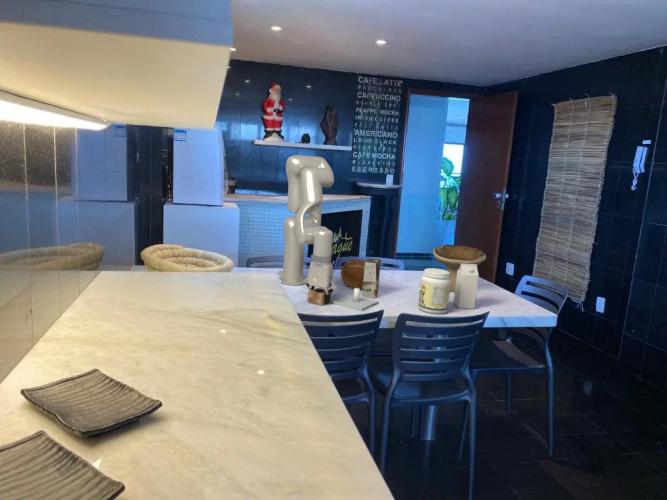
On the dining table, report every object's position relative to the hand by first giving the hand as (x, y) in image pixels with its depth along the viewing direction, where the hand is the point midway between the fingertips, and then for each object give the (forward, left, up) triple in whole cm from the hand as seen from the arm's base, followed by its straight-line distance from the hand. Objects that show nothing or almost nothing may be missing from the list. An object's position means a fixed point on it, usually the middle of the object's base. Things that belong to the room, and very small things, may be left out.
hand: (319, 300), depth 210 cm
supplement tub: (+40, +26, -1) cm, 48 cm away
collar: (0, 0, -1) cm, 1 cm away
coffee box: (+10, +26, -1) cm, 28 cm away
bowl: (+34, +70, -1) cm, 78 cm away
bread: (-6, +41, -1) cm, 41 cm away
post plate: (+12, +10, -1) cm, 16 cm away
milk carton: (+48, +42, -1) cm, 64 cm away
